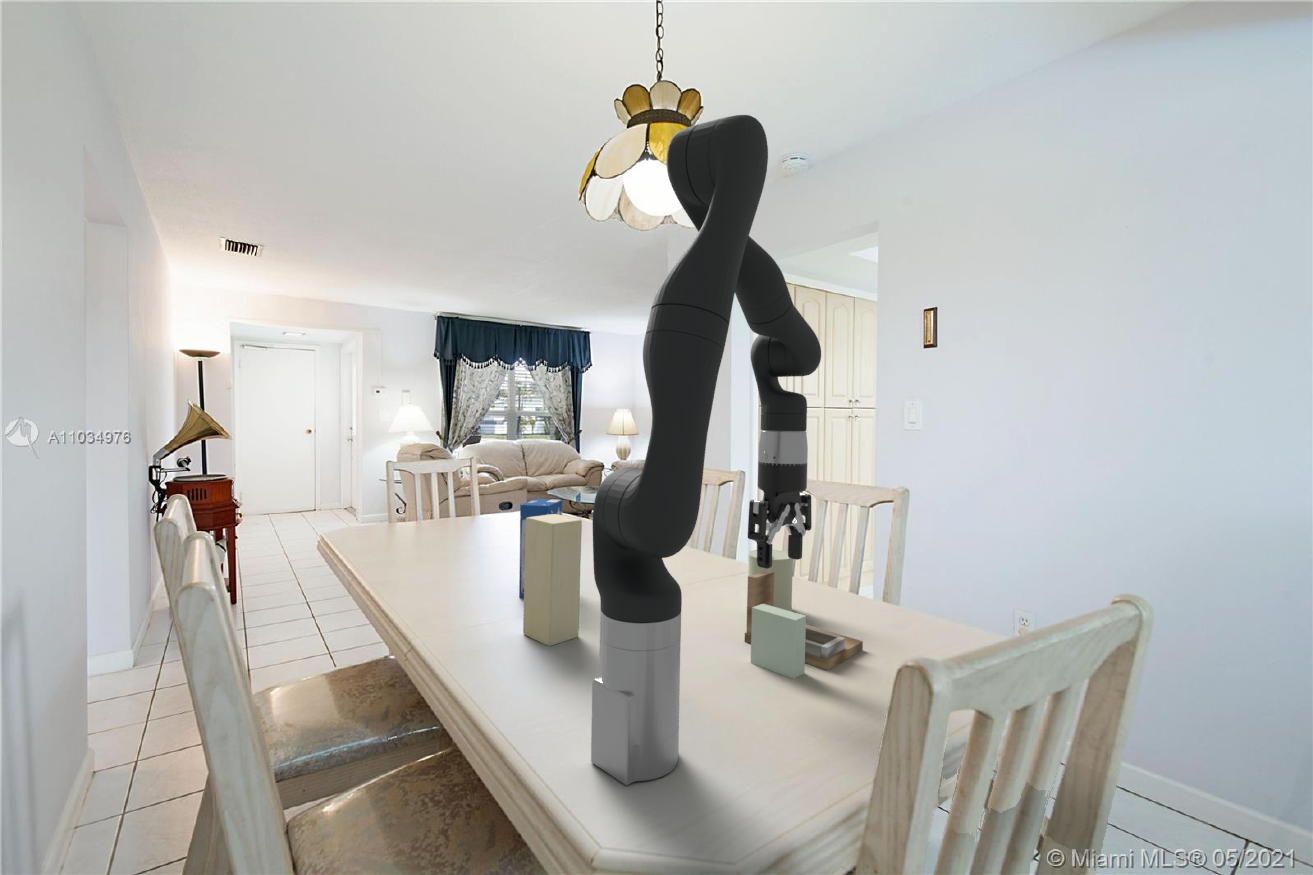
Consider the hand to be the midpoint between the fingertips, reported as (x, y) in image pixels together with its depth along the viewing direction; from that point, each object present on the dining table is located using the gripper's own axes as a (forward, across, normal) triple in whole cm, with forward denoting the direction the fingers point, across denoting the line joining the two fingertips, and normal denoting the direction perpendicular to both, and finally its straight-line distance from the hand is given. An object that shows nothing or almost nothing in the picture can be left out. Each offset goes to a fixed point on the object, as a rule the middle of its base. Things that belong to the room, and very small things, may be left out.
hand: (780, 562), depth 93 cm
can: (+17, +23, +17) cm, 33 cm away
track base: (+17, +11, +2) cm, 20 cm away
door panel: (+17, 0, 0) cm, 17 cm away
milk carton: (+17, -5, +58) cm, 61 cm away
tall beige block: (+17, -18, +35) cm, 43 cm away
